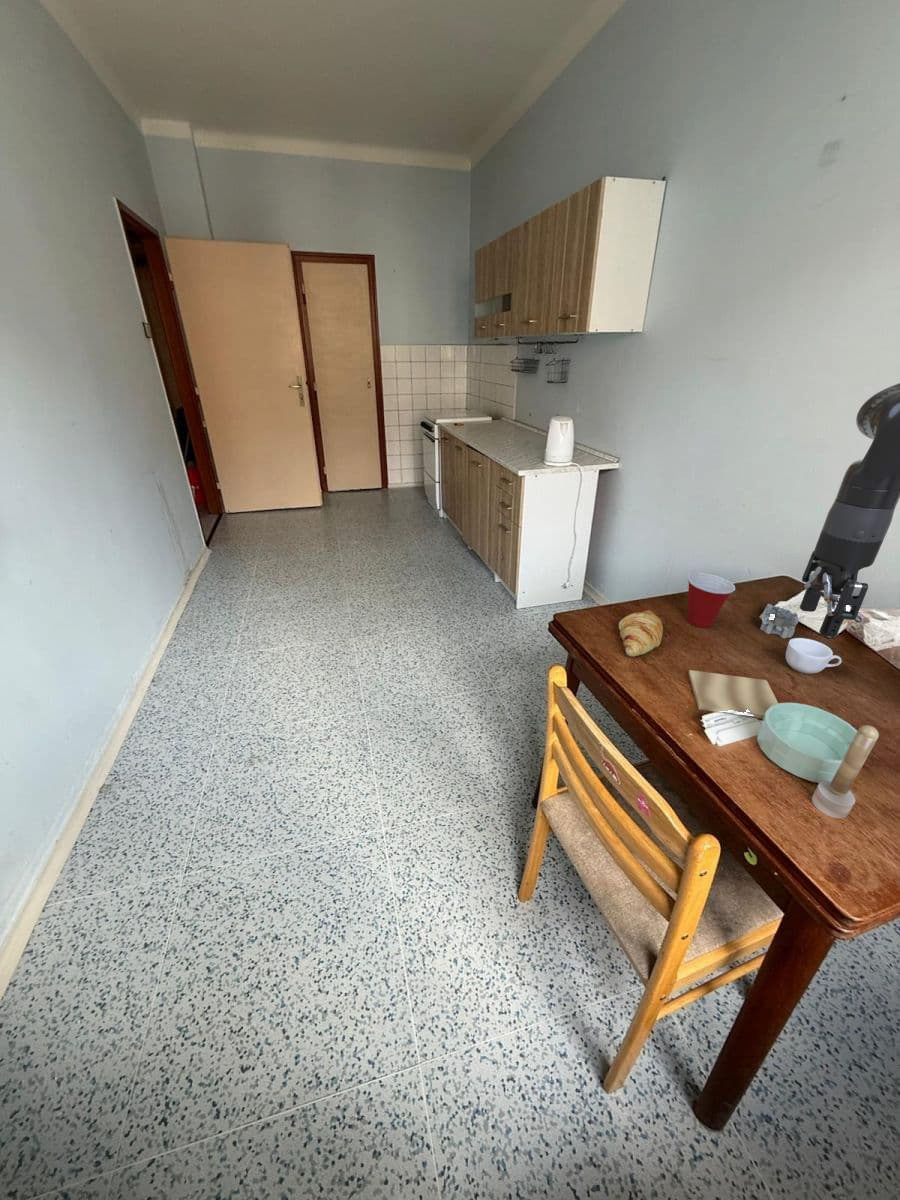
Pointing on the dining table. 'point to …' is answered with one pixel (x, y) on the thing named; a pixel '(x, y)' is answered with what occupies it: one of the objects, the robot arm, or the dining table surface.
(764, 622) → the egg carton
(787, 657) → the teacup
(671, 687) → the dining table surface
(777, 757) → the bowl
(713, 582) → the plastic cup
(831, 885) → the dining table surface
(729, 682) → the flat beige board
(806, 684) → the dining table surface
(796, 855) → the dining table surface
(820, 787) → the dish brush
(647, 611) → the croissant
